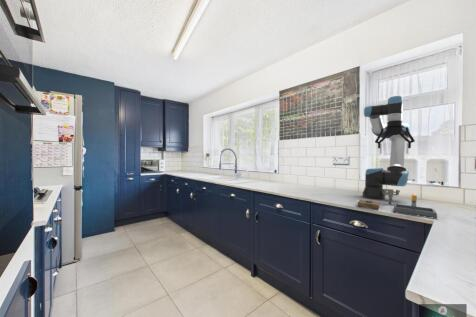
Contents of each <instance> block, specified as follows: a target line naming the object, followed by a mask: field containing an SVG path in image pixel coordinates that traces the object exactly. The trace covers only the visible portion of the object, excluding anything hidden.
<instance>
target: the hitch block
mask: <svg viewBox="0 0 476 317" xmlns="http://www.w3.org/2000/svg"><path fill="white" fill-rule="evenodd" d="M357 207H358V208H362V207H364V208H363V209H369V208H370V209H371V210H377V211H378V209H379V208H380V201H376V200H368V199H362V198H360V199H359V200H358V201H357Z"/></svg>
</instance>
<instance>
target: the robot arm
mask: <svg viewBox="0 0 476 317" xmlns="http://www.w3.org/2000/svg"><path fill="white" fill-rule="evenodd" d="M403 109H404V106H403V96H402V95H395V96H394V95H393V96H390V97H388V99H387V103H386V104H385V103H384V104H378V105H369V106H365V107H364V110H363V116H364V118H369V121H370V125H371V132H372V133H373V135H375V136H376V137H377V138H376V139H375V141H374V143H375V144H377V149H379V154H382V153H383V152H382V148H383V146H382V144H383V143H382V142H384V141H385V140H386V139H388V140H389V141H390V143H391V144H390V154H389V155H390V156H389V157H390V158H389V166H387V168H386V169H384V167H378V168H377V167H376V168H375V167H374V168H366V170H365V175H364V177H365V178H364V179H365V186H364V188H363V191H362V194H361V195H362V197H363V198H368V199H375V200H385V199H386V195H385V194H383V192H382V189H384V188H383V187H384V186H393V187H406V186H407V183H408V179H409V173H410V172H409V170H407V168H406V167H405V154H406V155H408V154H409V149H411V146H412V143H414V142H415V141H416V140H415V139H414V137H413V135H412V134H411V132H410V126H409V124H408V123H403V121H402V120H403ZM382 116H386V118H387V123H386V124H384V122H383V118H382ZM380 138H381V139H380ZM406 142H407V143H406ZM405 147H406V148H405ZM405 149H406V150H405ZM405 151H406V153H405Z"/></svg>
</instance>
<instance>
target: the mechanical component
mask: <svg viewBox="0 0 476 317" xmlns="http://www.w3.org/2000/svg"><path fill="white" fill-rule="evenodd" d="M382 192H383V194H385V196H388V204H390V205H392V204H393V198H394V196H400V195H399V194H400V192H401V190H399V189H396V190H395V191H394V189H390V188H383V189H382Z"/></svg>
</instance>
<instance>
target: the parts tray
mask: <svg viewBox="0 0 476 317" xmlns="http://www.w3.org/2000/svg"><path fill="white" fill-rule="evenodd" d="M393 212H394V213H396V212H399V213H398V214H403V213H404V214H403V215H409V214H412V215H411V216H416V215H419V216H418V217H423V216H426V217H425V218H429V217H433V218H432V219H436V218H438V217H437V216H438V213H437V211H436V210H435V209H434V208H432V207H431V208H430V207H424V206H423V207H422V206H416V210H414V209H411V205H408V204H399V203H394V204H393Z"/></svg>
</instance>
